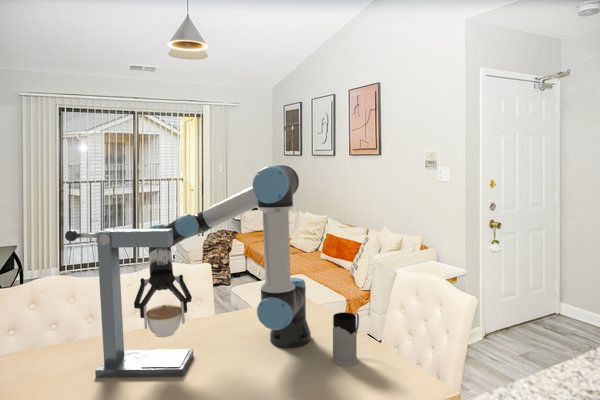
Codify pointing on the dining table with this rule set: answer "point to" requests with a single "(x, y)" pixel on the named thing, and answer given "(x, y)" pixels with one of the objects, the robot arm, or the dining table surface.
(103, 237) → the arbor press
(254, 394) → the dining table surface
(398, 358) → the dining table surface
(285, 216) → the robot arm
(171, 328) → the lidded jar
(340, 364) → the grey mug
